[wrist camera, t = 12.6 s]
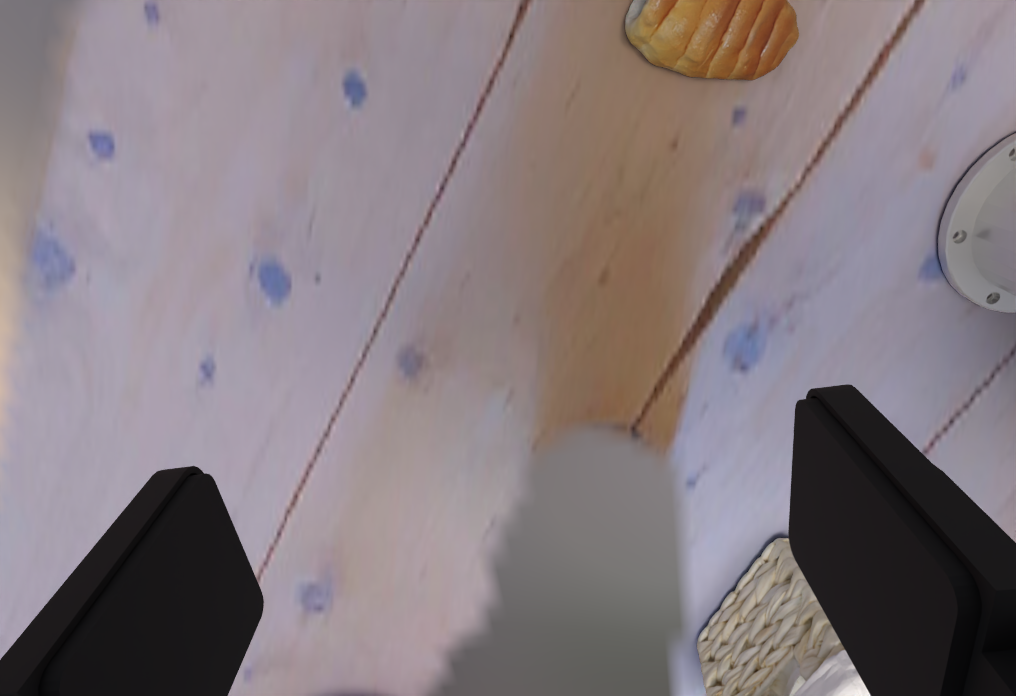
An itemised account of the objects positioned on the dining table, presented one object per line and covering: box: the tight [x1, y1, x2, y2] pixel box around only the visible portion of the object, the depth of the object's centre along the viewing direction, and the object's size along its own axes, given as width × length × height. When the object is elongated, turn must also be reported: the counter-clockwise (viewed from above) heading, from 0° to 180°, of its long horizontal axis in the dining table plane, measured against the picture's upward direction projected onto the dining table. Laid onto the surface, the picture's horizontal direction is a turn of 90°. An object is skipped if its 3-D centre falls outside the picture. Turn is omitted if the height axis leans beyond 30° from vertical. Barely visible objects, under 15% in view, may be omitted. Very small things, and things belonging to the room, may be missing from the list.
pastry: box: [625, 0, 799, 80], centre depth 35 cm, size 9×7×4 cm
